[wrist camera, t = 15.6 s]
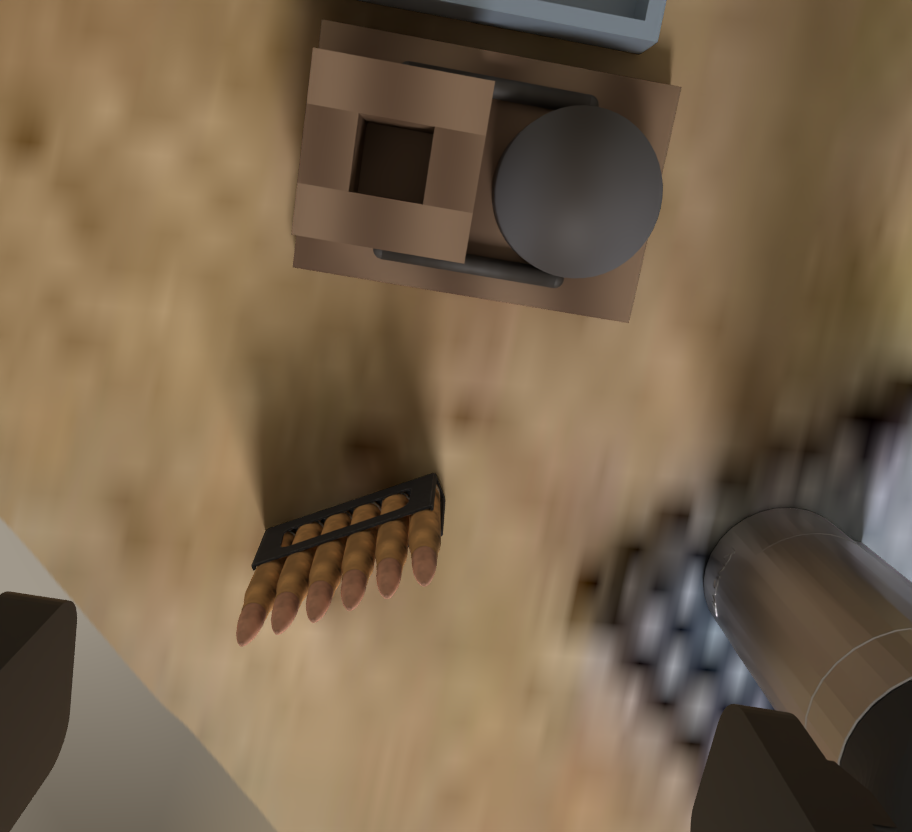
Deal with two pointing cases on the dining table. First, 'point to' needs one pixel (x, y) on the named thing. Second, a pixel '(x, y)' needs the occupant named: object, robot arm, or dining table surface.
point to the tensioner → (479, 172)
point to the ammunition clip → (343, 554)
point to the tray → (557, 18)
